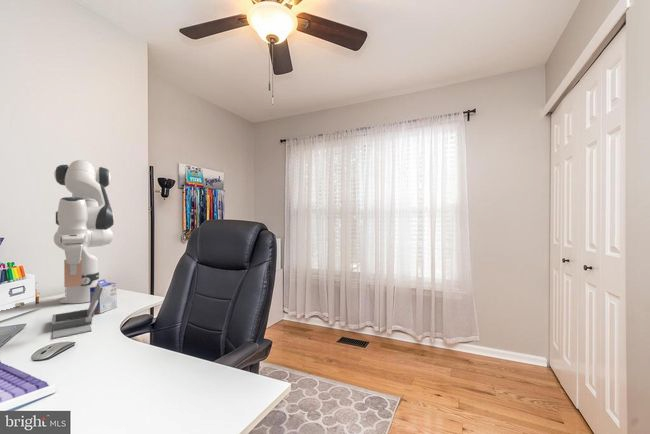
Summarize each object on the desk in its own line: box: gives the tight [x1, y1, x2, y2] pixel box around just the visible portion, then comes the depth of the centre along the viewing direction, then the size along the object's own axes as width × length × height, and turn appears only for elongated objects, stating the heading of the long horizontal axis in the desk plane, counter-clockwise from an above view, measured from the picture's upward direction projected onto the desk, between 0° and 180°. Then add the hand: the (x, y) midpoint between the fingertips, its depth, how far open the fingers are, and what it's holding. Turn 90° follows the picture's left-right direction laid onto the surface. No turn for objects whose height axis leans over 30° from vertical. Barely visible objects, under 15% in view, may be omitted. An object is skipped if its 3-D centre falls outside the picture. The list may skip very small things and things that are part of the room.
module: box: [63, 259, 82, 288], centre depth 111 cm, size 5×5×11 cm
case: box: [51, 282, 103, 333], centre depth 119 cm, size 16×16×15 cm
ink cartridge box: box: [89, 279, 118, 315], centre depth 135 cm, size 10×6×14 cm, turn 174°
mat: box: [52, 324, 92, 340], centre depth 110 cm, size 8×11×1 cm
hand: (73, 273), depth 110 cm, fingers closed on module, 5 cm apart
